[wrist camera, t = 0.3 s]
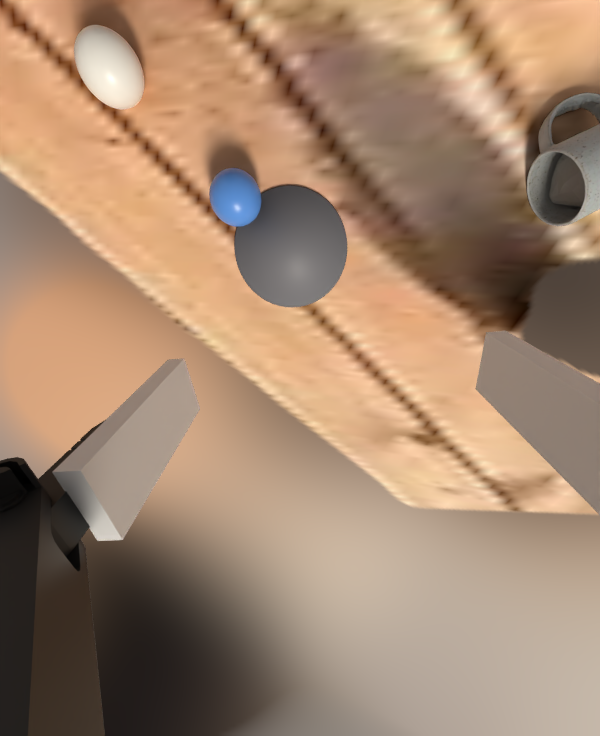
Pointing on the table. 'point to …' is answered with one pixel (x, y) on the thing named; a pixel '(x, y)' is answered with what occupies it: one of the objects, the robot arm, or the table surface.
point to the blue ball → (235, 197)
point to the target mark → (292, 247)
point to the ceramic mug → (567, 168)
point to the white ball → (109, 67)
